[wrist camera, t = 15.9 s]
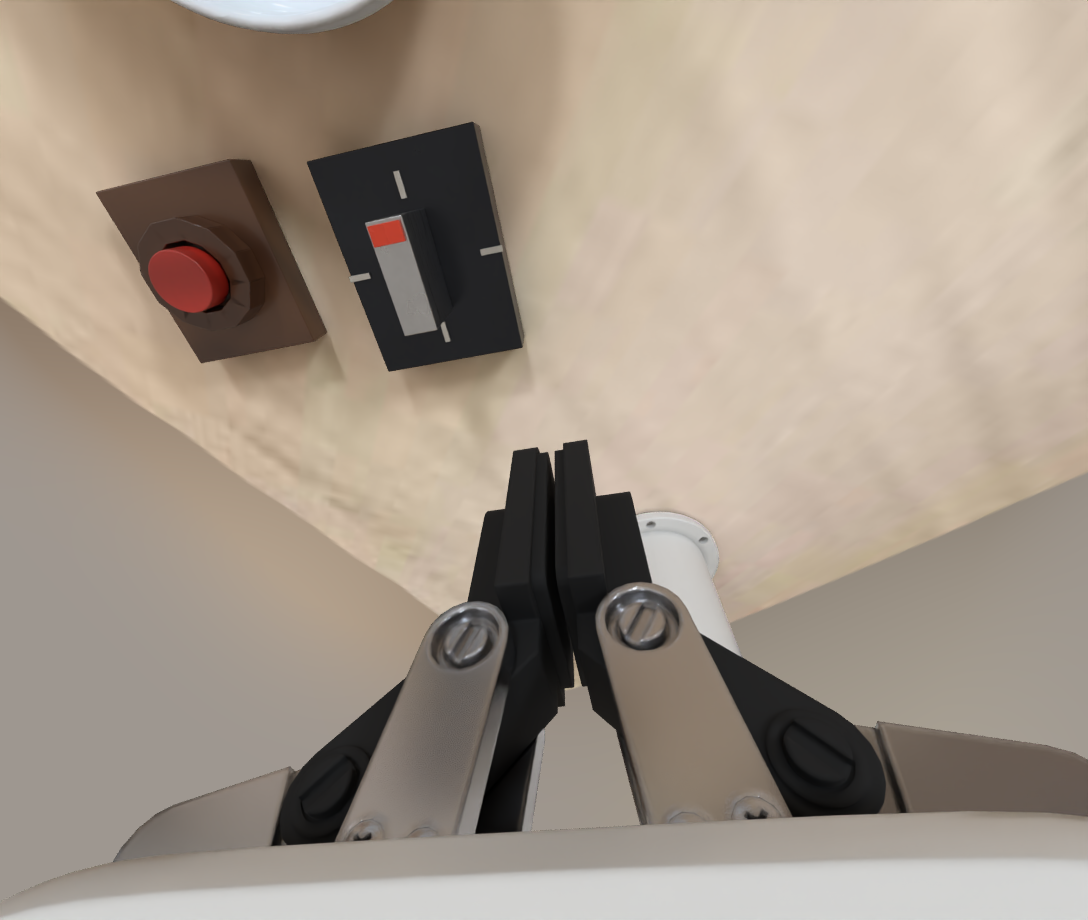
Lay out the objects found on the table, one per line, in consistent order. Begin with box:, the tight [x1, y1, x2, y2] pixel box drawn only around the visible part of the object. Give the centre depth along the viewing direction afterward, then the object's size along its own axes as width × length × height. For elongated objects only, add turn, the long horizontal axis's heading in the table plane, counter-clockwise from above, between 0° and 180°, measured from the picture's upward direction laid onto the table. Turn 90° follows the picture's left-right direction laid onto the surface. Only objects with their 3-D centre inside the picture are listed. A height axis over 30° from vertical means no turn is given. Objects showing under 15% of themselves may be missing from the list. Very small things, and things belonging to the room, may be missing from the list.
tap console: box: [307, 122, 524, 372], centre depth 30 cm, size 13×10×3 cm
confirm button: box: [148, 246, 229, 313], centre depth 28 cm, size 4×4×2 cm
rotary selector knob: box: [365, 209, 453, 336], centre depth 27 cm, size 6×2×5 cm, turn 11°
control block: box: [96, 159, 327, 363], centre depth 30 cm, size 11×9×4 cm
